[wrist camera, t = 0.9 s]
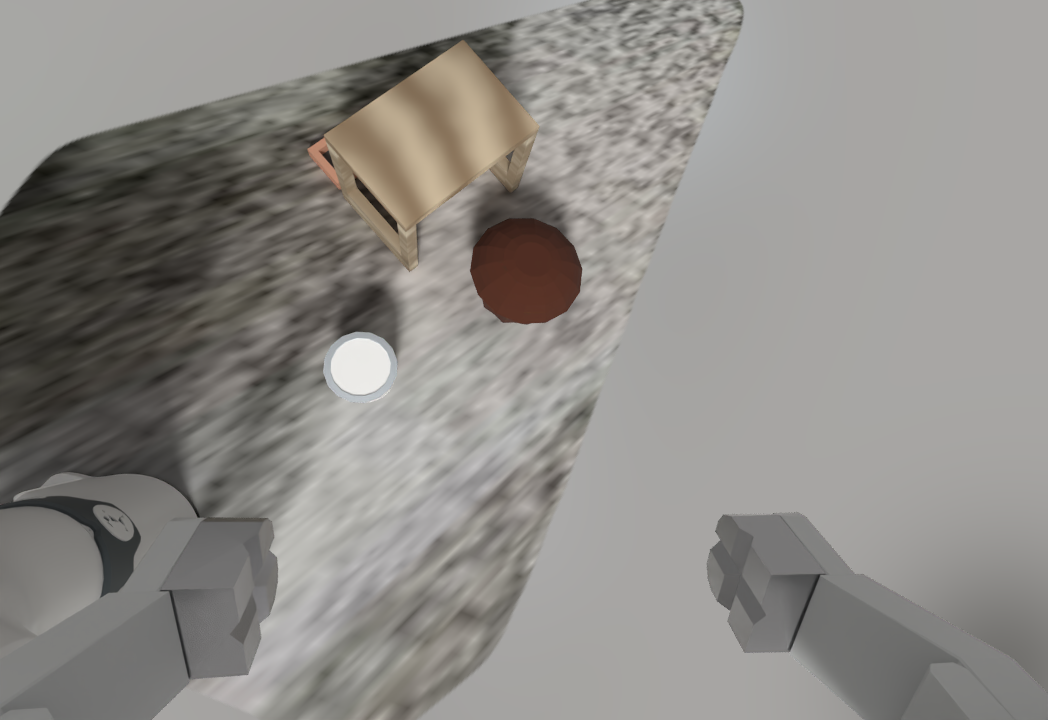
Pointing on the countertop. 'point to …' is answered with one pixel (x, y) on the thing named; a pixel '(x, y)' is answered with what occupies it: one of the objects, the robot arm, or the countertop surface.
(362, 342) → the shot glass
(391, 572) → the countertop surface
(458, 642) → the countertop surface
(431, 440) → the countertop surface
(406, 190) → the tunnel
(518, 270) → the muffin
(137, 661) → the robot arm
